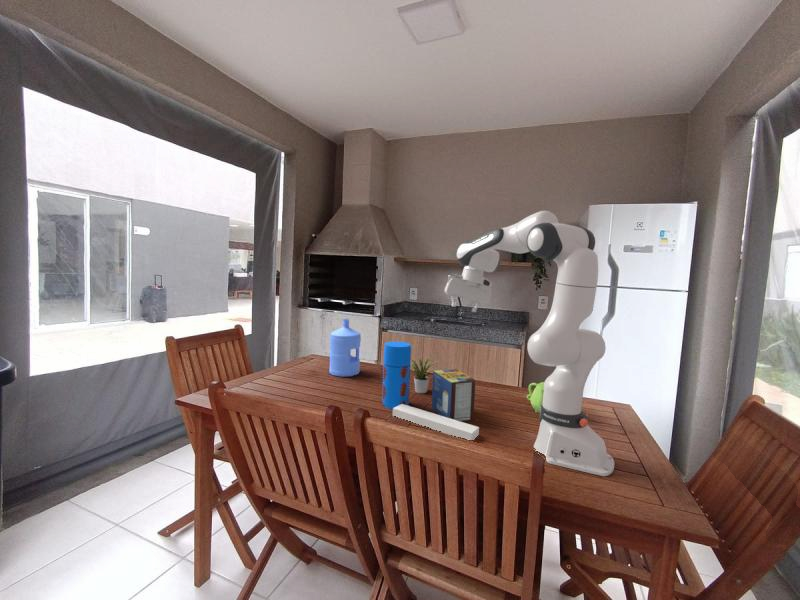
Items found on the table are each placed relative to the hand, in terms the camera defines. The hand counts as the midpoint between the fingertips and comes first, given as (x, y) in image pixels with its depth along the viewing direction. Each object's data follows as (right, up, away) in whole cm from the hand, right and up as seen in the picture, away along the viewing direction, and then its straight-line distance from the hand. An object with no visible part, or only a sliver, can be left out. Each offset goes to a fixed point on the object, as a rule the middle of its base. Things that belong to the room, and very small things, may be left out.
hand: (463, 309), depth 159 cm
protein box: (-8, -40, -17) cm, 44 cm away
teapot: (+32, -42, -12) cm, 53 cm away
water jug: (-57, -34, +31) cm, 73 cm away
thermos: (-30, -39, -10) cm, 50 cm away
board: (-16, -41, -28) cm, 52 cm away
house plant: (-17, -38, +8) cm, 42 cm away
